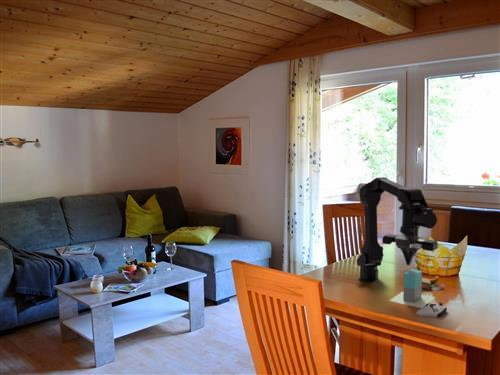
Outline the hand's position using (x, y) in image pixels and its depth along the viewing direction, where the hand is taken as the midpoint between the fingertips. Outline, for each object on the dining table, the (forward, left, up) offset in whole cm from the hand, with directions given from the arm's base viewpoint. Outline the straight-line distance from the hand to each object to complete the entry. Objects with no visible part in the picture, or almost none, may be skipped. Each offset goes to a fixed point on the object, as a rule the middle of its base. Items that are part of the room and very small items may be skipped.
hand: (408, 265), depth 174 cm
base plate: (+3, -3, -13) cm, 13 cm away
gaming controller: (+13, -11, -13) cm, 21 cm away
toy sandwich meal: (+2, +15, -13) cm, 20 cm away
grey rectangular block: (+3, -3, -12) cm, 12 cm away
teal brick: (+3, -3, -7) cm, 8 cm away
